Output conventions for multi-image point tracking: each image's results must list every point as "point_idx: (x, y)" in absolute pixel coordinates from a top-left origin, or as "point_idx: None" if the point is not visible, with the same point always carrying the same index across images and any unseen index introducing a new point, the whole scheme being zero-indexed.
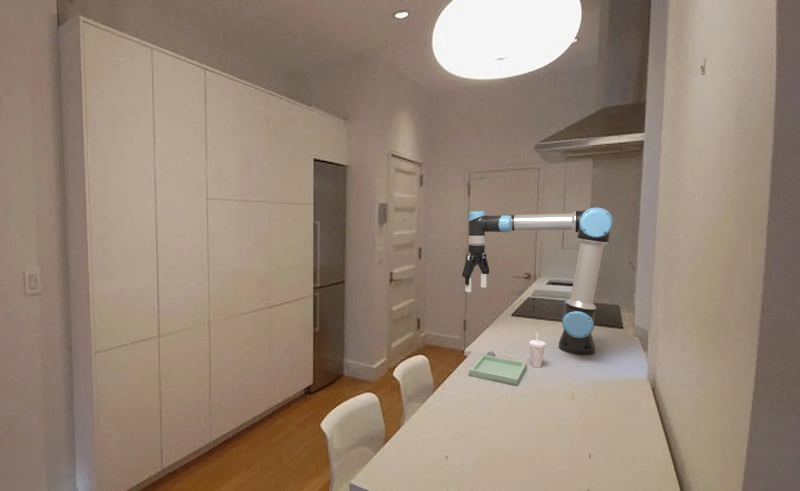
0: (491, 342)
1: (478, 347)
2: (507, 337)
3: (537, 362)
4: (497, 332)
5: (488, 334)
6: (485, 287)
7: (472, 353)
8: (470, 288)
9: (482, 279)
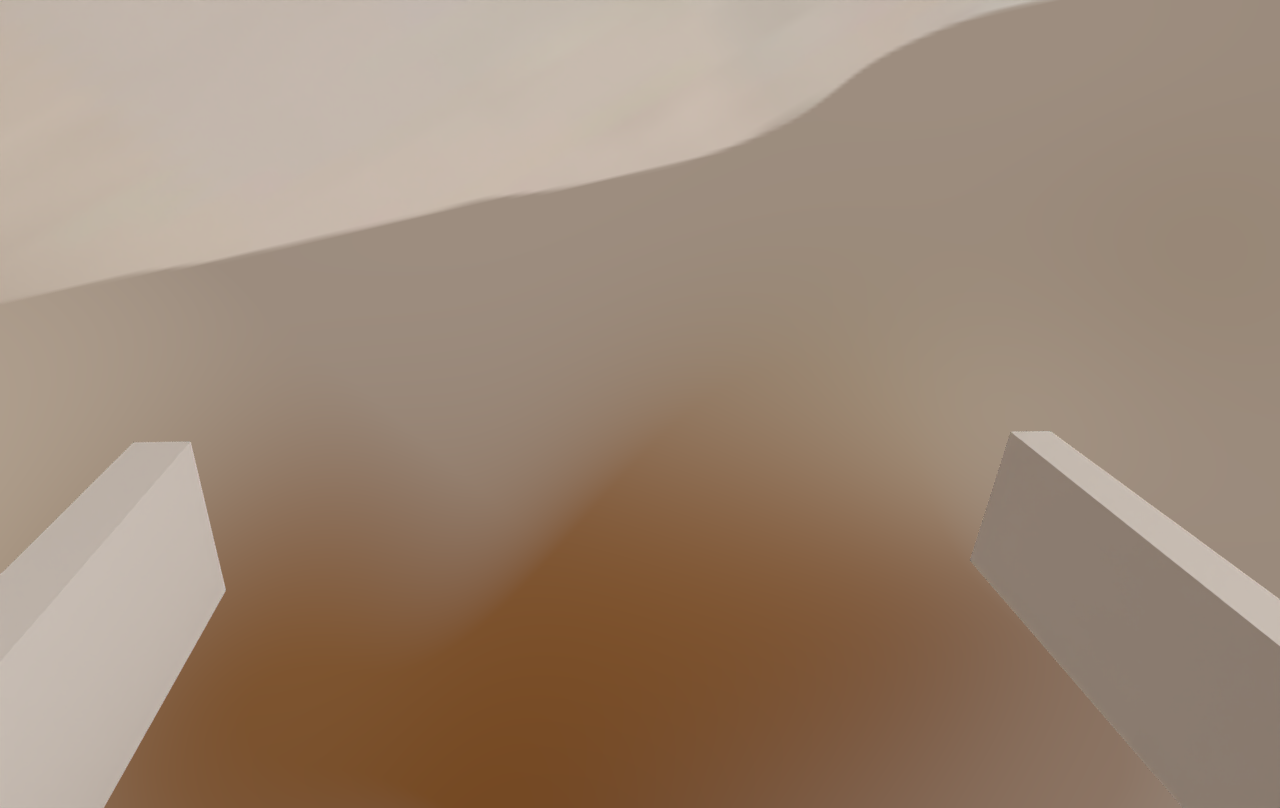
0: (409, 94)
1: (636, 128)
2: (98, 21)
3: None
4: (49, 207)
5: (205, 249)
6: (186, 456)
7: (813, 91)
8: (1114, 484)
9: (75, 765)
